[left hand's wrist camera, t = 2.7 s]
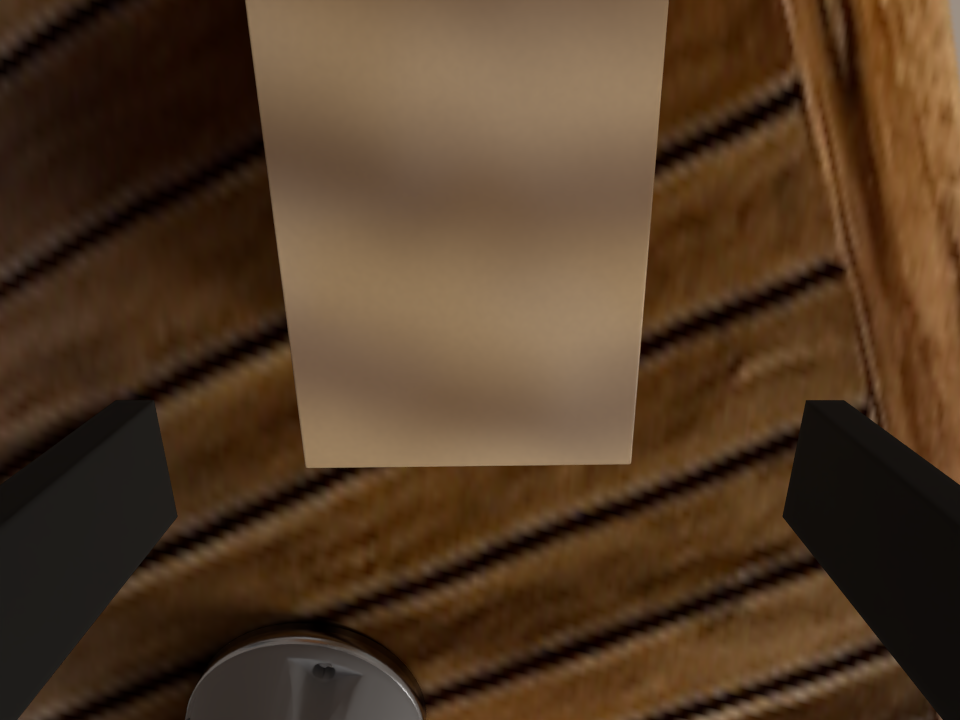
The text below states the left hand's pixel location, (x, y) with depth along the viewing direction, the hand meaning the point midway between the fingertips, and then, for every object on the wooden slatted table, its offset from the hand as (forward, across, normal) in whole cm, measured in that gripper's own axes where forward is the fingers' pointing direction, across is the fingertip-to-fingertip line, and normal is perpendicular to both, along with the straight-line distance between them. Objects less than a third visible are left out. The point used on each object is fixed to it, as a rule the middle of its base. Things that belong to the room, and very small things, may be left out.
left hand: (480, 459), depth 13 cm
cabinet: (+19, 0, -5) cm, 20 cm away
